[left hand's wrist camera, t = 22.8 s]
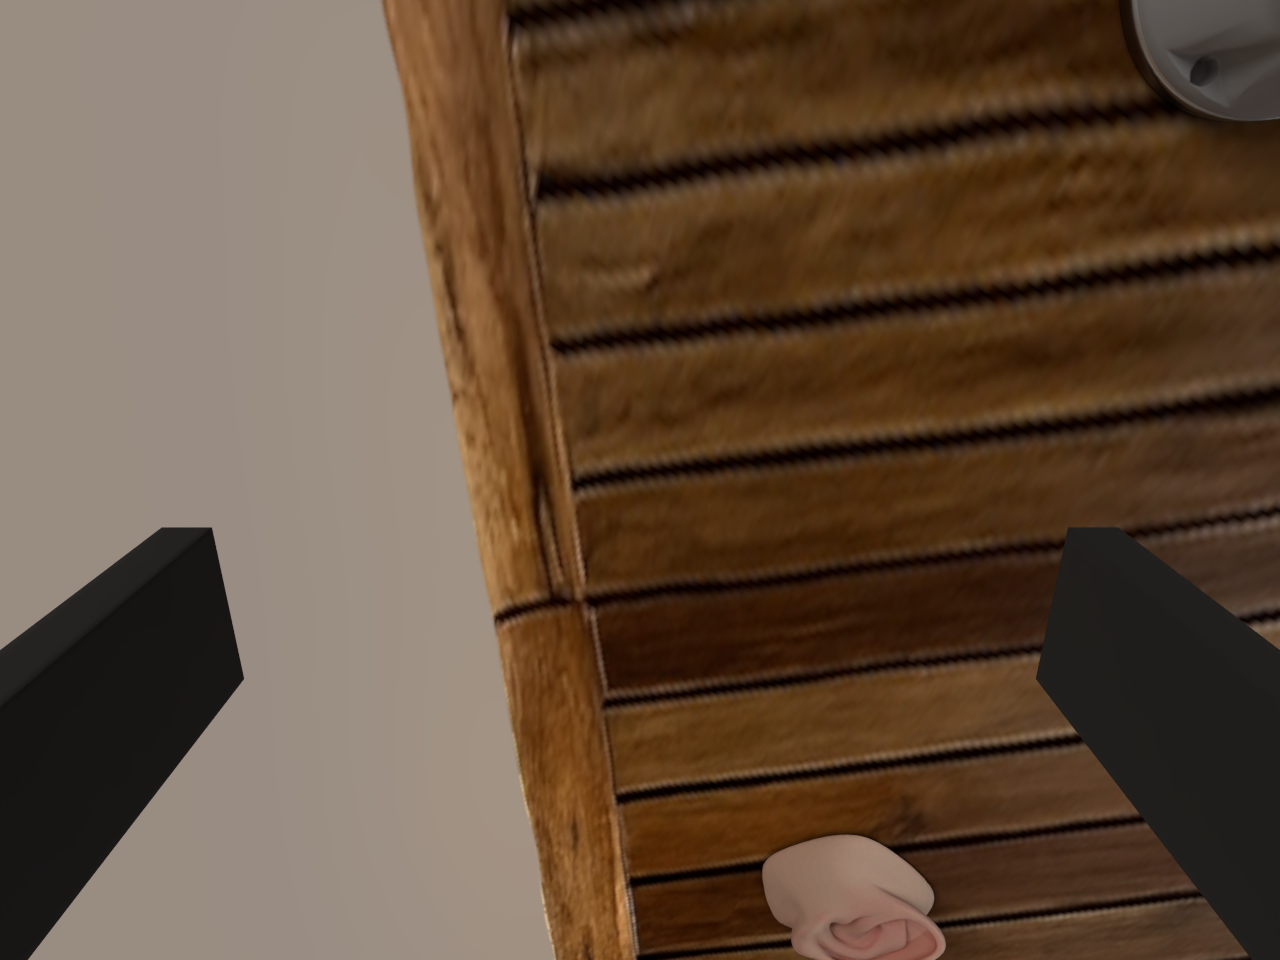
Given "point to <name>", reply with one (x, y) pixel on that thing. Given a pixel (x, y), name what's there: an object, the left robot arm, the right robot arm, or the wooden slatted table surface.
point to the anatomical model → (851, 901)
